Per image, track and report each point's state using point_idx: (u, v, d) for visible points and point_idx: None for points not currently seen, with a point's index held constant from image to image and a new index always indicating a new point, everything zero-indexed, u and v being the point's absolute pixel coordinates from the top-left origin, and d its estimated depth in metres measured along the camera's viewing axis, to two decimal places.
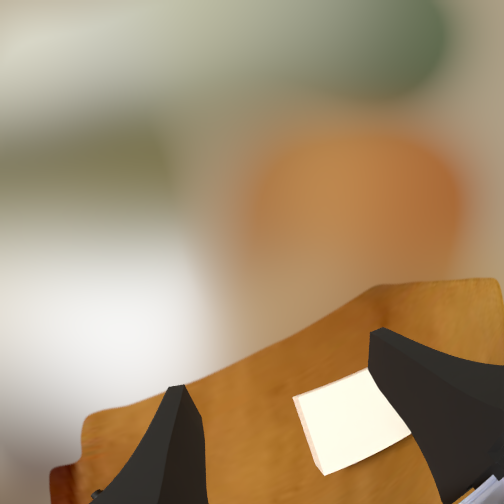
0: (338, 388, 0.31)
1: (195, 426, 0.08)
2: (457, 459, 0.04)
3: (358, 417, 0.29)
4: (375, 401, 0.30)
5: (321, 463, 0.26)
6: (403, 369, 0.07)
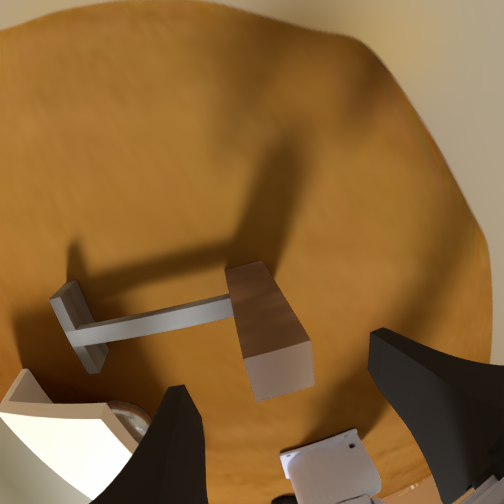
0: (82, 489, 0.16)
1: (195, 426, 0.08)
2: (457, 459, 0.04)
3: None
4: (87, 475, 0.15)
5: None
6: (403, 369, 0.07)
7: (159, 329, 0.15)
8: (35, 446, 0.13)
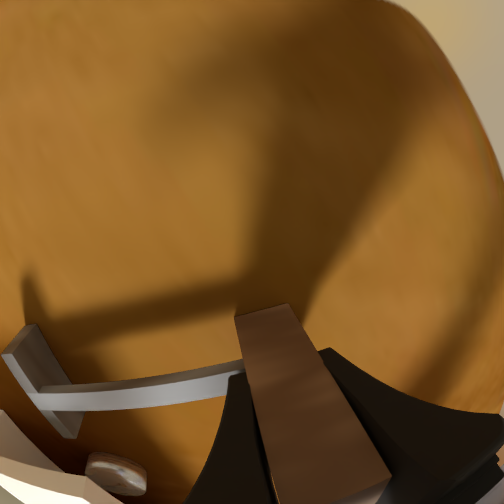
0: None
1: None
2: (391, 500, 0.04)
3: None
4: None
5: None
6: None
7: (144, 404, 0.10)
8: (19, 496, 0.07)
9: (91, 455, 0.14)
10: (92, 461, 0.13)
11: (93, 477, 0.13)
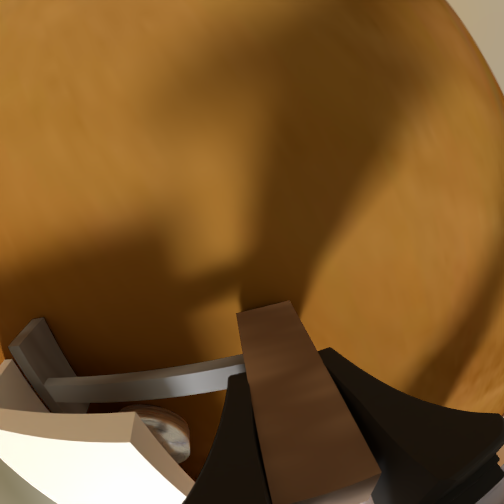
0: None
1: None
2: (392, 500, 0.04)
3: None
4: None
5: None
6: None
7: (146, 396, 0.10)
8: (23, 470, 0.07)
9: (122, 411, 0.14)
10: None
11: None
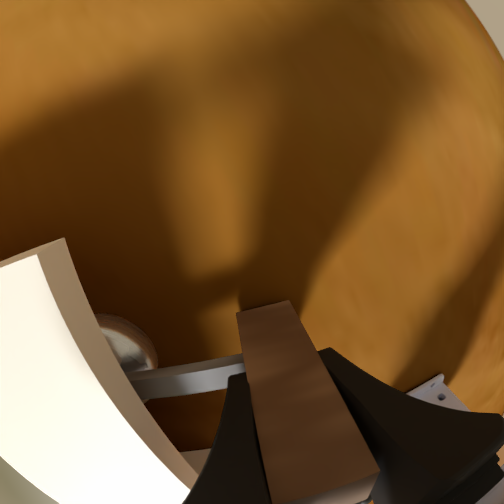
0: (40, 486, 0.08)
1: None
2: (392, 501, 0.04)
3: (85, 489, 0.08)
4: (36, 458, 0.07)
5: None
6: (342, 396, 0.07)
7: (147, 395, 0.10)
8: None
9: None
10: None
11: None
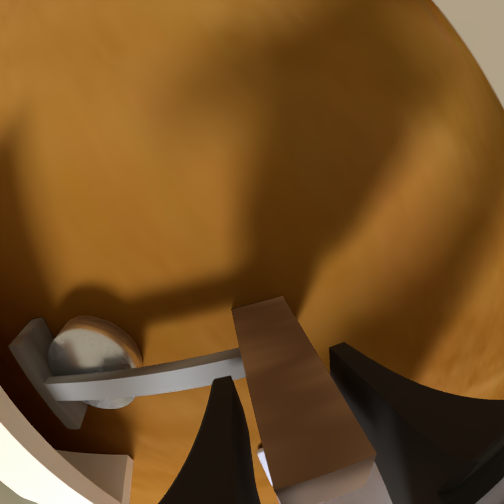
0: None
1: (242, 417, 0.08)
2: (410, 491, 0.04)
3: (7, 469, 0.07)
4: None
5: None
6: (358, 390, 0.07)
7: (146, 391, 0.10)
8: None
9: (63, 326, 0.12)
10: (62, 329, 0.11)
11: (59, 364, 0.10)
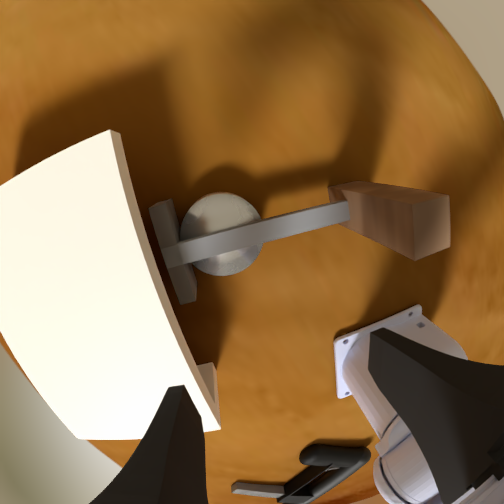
0: (46, 391, 0.13)
1: (195, 426, 0.08)
2: (457, 459, 0.04)
3: (88, 374, 0.13)
4: (51, 335, 0.12)
5: None
6: (403, 369, 0.07)
7: (279, 235, 0.16)
8: None
9: None
10: (199, 199, 0.17)
11: (193, 228, 0.16)
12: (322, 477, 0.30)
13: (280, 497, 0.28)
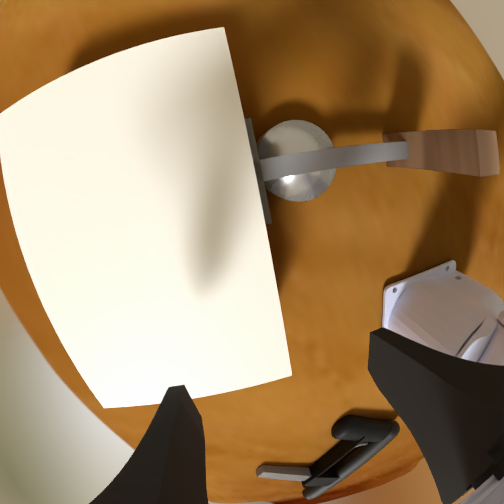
0: (73, 341, 0.12)
1: (195, 426, 0.08)
2: (457, 459, 0.04)
3: (143, 305, 0.12)
4: (102, 251, 0.11)
5: (258, 382, 0.14)
6: (403, 369, 0.07)
7: (354, 162, 0.15)
8: (27, 180, 0.09)
9: None
10: None
11: (271, 149, 0.15)
12: (349, 456, 0.29)
13: (306, 480, 0.28)
